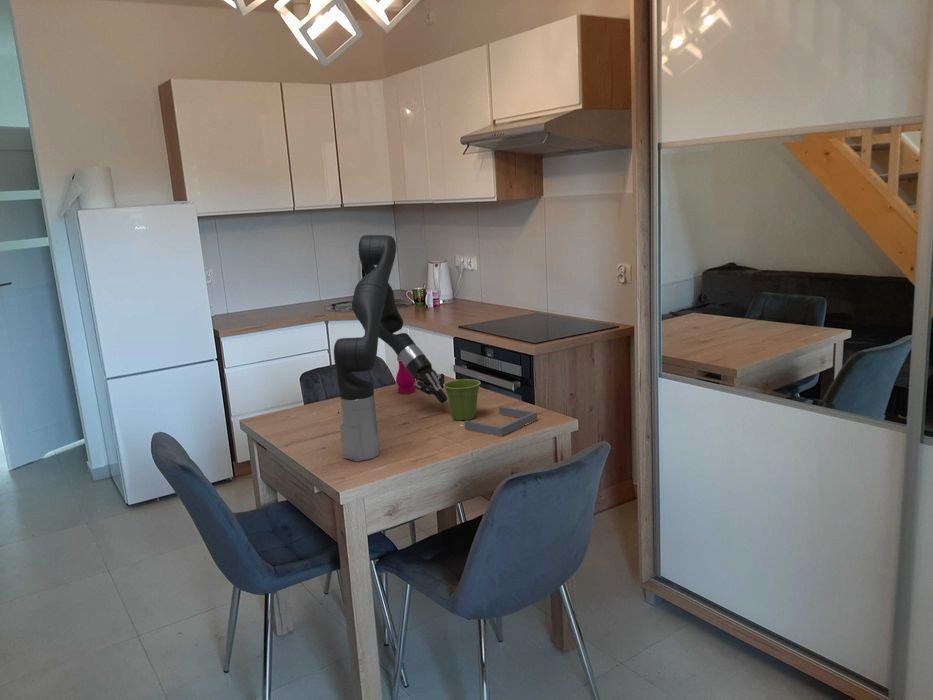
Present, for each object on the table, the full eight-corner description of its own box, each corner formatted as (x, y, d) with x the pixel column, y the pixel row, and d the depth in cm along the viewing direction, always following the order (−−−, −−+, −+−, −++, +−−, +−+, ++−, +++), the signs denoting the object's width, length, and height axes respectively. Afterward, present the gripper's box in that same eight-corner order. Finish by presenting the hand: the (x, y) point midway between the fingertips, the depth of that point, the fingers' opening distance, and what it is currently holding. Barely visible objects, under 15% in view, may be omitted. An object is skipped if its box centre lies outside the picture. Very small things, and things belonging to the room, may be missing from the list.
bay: (501, 436, 207) (501, 428, 207) (464, 429, 216) (464, 421, 216) (537, 420, 221) (536, 412, 220) (501, 413, 230) (500, 406, 229)
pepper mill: (413, 394, 260) (409, 340, 256) (394, 394, 262) (389, 340, 258) (418, 389, 267) (414, 336, 263) (400, 389, 269) (395, 337, 265)
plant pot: (488, 413, 231) (486, 379, 229) (474, 424, 221) (472, 389, 218) (454, 411, 236) (452, 378, 234) (439, 422, 225) (437, 387, 223)
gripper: (405, 358, 231) (436, 399, 225) (433, 350, 240) (463, 389, 235) (395, 372, 235) (425, 413, 230) (423, 364, 245) (452, 403, 240)
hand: (444, 401), depth 232 cm, fingers closed
